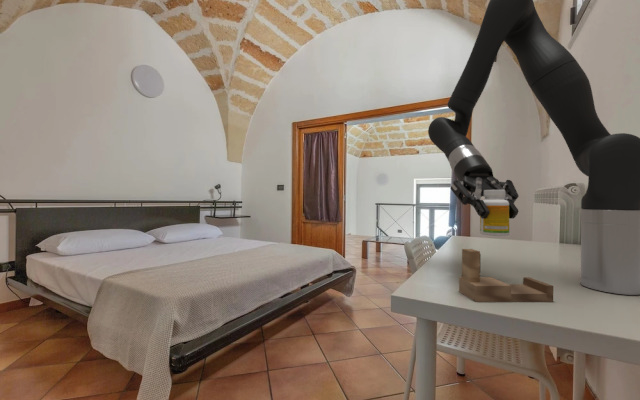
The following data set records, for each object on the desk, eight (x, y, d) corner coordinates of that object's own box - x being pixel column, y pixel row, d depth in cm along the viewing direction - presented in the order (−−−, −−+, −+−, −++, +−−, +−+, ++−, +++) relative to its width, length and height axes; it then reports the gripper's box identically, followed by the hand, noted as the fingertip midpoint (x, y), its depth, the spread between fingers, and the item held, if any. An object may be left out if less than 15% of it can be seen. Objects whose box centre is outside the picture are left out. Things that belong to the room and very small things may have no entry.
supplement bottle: (515, 236, 57) (515, 189, 57) (488, 236, 58) (489, 189, 58) (499, 233, 63) (499, 190, 63) (475, 233, 63) (475, 190, 63)
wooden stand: (529, 291, 58) (529, 248, 58) (553, 301, 52) (553, 254, 52) (459, 291, 58) (459, 248, 58) (475, 301, 52) (475, 253, 52)
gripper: (445, 153, 67) (473, 203, 55) (503, 154, 68) (544, 203, 56) (436, 177, 73) (460, 227, 61) (490, 177, 73) (524, 227, 61)
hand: (500, 215), depth 58 cm, fingers closed on supplement bottle, 5 cm apart
